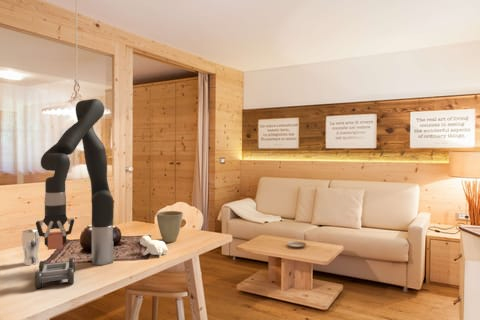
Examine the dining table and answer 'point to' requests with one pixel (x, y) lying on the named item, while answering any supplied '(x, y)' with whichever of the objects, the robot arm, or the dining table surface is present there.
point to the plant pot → (169, 224)
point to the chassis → (55, 272)
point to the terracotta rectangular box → (55, 240)
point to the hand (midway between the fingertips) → (55, 245)
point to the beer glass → (30, 246)
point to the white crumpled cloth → (153, 246)
